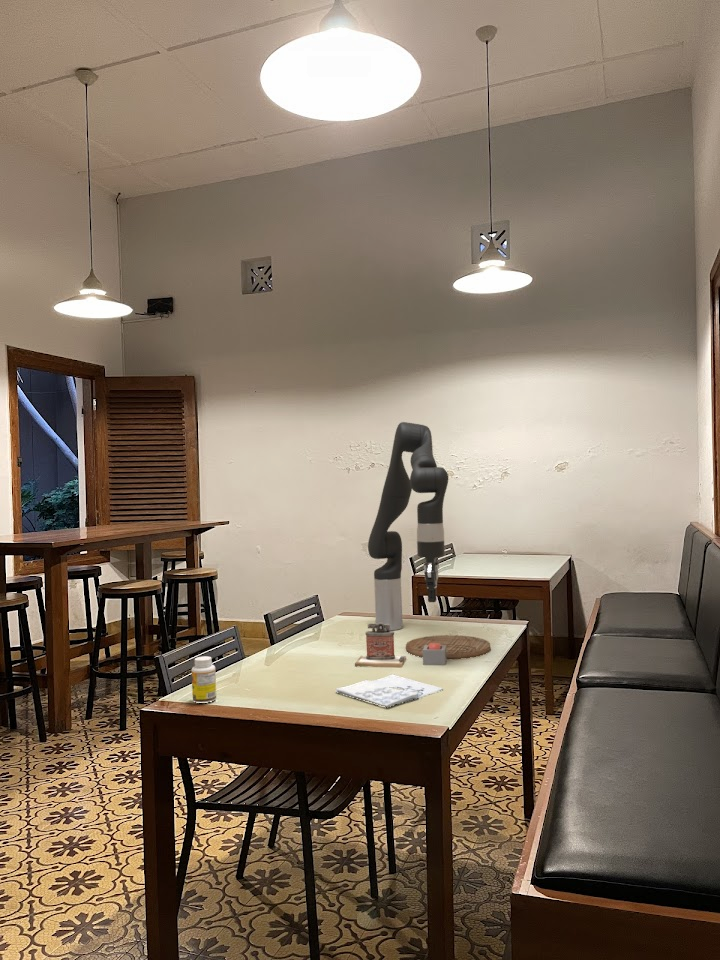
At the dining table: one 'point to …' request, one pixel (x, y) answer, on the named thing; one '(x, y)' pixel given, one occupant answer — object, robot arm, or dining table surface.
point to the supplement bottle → (203, 680)
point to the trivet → (451, 646)
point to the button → (434, 646)
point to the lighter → (380, 642)
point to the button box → (434, 655)
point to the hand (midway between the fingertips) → (432, 601)
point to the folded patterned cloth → (388, 690)
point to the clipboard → (381, 662)
